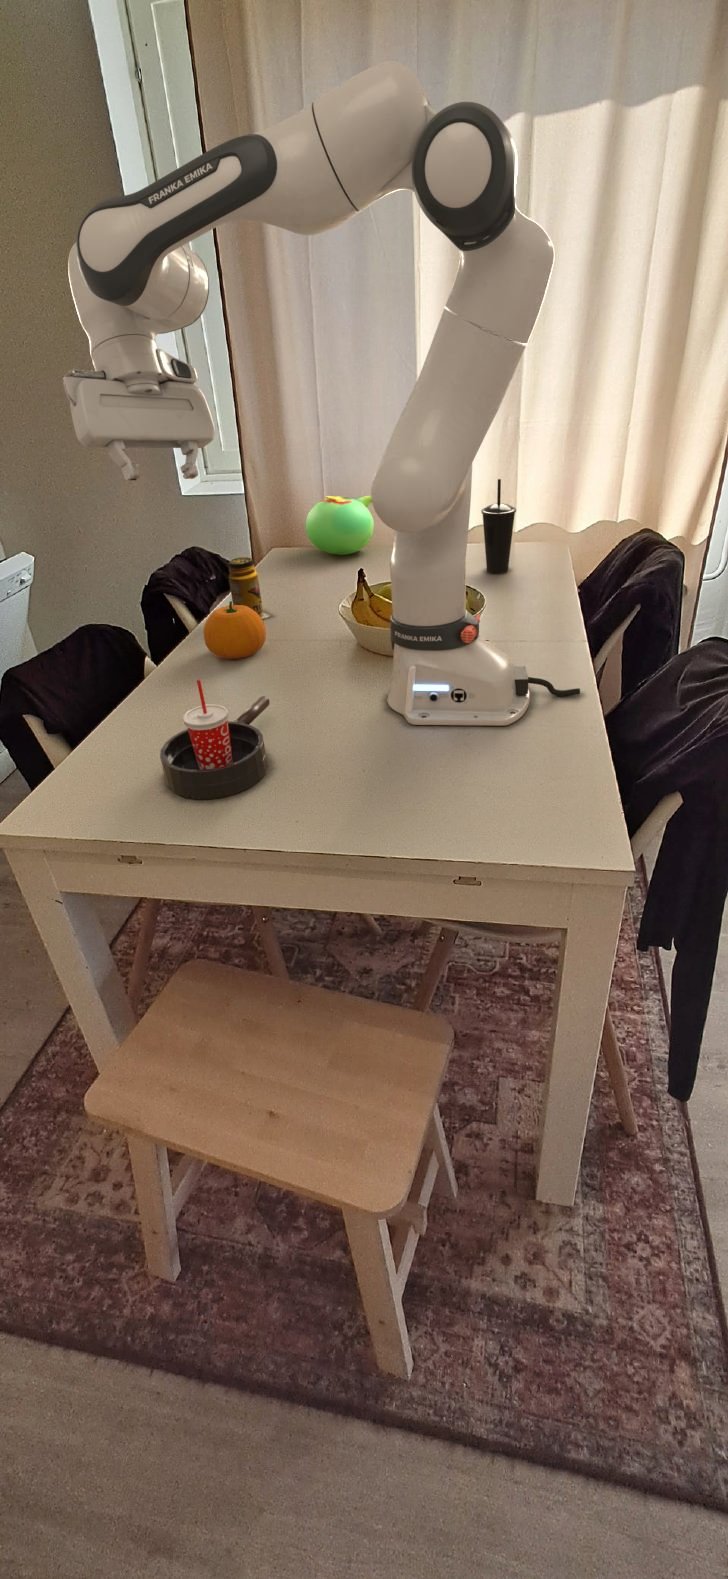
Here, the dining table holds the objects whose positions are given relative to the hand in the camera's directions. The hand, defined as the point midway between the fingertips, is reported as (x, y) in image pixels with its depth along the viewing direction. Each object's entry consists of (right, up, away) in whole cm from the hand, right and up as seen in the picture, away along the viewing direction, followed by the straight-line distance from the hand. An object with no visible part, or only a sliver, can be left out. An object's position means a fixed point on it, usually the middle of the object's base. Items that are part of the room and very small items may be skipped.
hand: (163, 478), depth 105 cm
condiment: (+2, -6, +58) cm, 59 cm away
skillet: (+7, -40, +3) cm, 41 cm away
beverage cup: (+7, -40, +3) cm, 41 cm away
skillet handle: (+11, -32, +11) cm, 35 cm away
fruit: (+3, -17, +42) cm, 45 cm away
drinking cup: (+59, +8, +72) cm, 93 cm away
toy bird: (+22, +19, +95) cm, 100 cm away
